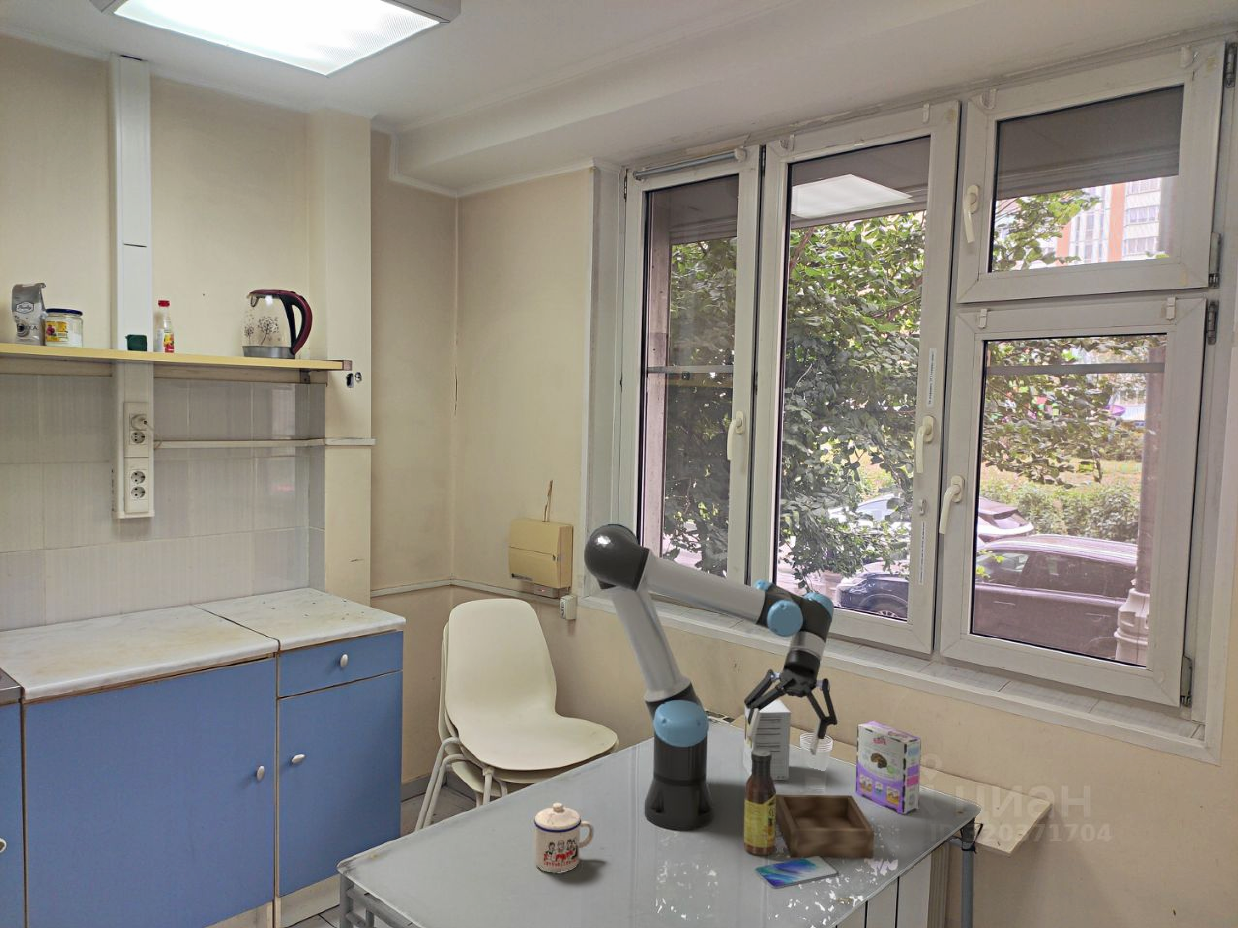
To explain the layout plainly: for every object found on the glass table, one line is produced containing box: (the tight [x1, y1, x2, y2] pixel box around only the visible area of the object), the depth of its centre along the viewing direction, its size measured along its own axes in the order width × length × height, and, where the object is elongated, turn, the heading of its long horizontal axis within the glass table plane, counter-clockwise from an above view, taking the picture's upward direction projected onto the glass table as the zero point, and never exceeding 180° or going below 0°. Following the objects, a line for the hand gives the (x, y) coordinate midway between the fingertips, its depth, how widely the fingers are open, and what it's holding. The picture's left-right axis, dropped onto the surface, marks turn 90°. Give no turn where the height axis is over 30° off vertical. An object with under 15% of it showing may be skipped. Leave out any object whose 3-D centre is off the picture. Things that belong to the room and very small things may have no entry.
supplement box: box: [742, 699, 792, 781], centre depth 217 cm, size 10×9×17 cm
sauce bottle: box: [743, 749, 777, 856], centre depth 179 cm, size 7×6×20 cm
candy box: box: [854, 720, 922, 815], centre depth 202 cm, size 14×6×16 cm, turn 34°
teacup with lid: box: [533, 802, 595, 872], centre depth 173 cm, size 12×9×12 cm
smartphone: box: [754, 856, 840, 890], centre depth 171 cm, size 7×1×15 cm
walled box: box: [775, 793, 875, 859], centre depth 185 cm, size 16×16×6 cm
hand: (780, 745), depth 187 cm, fingers open, 13 cm apart
